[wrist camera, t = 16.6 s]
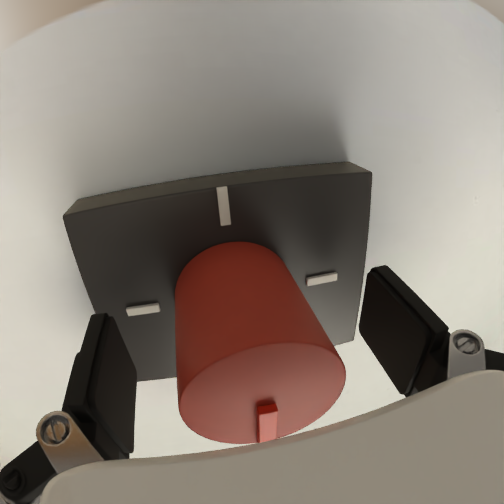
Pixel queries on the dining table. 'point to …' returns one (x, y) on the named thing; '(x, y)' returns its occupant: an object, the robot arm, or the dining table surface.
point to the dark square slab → (217, 232)
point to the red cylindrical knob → (249, 348)
